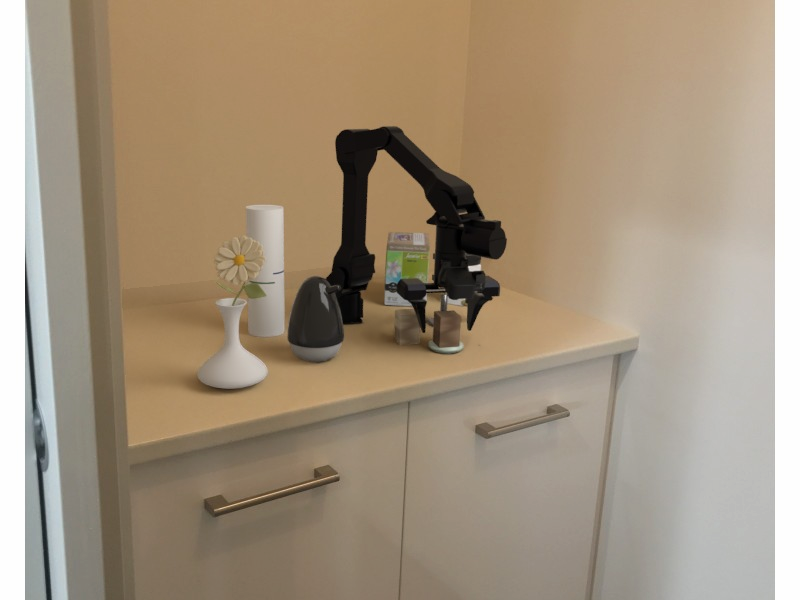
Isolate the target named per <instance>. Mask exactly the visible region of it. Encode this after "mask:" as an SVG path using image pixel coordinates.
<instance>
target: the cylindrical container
mask: <svg viewBox="0 0 800 600" xmlns="http://www.w3.org/2000/svg"><path fill="white" fill-rule="evenodd" d="M284 213H285V211H284V206H282V205H278V204H277V205H276V204H250V205H247V206H245V232H246V234H245V236H246V237H248V238H252V240H255V241H257V242H259V244H261V245H262V246H263V248H262V250H263V251H264V255H263V257H265V258H266V261H265V262H264V265H263V266H262V270H260V271H258V276H256V278H255V279H252V280H251V281H246V285H248V284H251V283H257V284H258V285H259V286H260V287H261V288H262V289H263V291H264V292H265V294H266V295H267V296H265V297H261V298H255V299H251V298H249V297H248V296H247V321H248V322H247V324H248V327H247V328H248V330H247V331H248V334H249V335H250V336H252V337H259V338H272V337H278V336H281V335H283V334H285V332H286V331H285V328H286V327H285V241H284V240H285V239H284V238H285V235H284V234H285V232H284V231H285V229H284V228H285V227H284V224H285V223H284V222H285V221H284V220H285V219H284V217H285V215H284Z"/></svg>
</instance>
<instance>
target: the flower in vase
mask: <svg viewBox="0 0 800 600" xmlns="http://www.w3.org/2000/svg"><path fill="white" fill-rule="evenodd" d="M262 248H263V246H262V245H261V244H259V242H257V241H255V240H252V238H248V237H246V235H243V234H242V235H241V236H238V237H236V236H233V237H231V239H229V240H225V241H224V242H223V243H222V245H221V247H218V248H217V254H216V255H214V260H213V263H214V265H216V266H215V270H216V271H218V272H216V275H217V277H219V278H220V279H222V280H224V282H229V283H230V284H231V285H233V286H237V285H242V286H241V288H240V290H239V291H238V293H236V292H235V291H234V290H233V289H232V288H231V287H228V286H227V285H224V284H223V283H220V282H219V281H217V279H216V278H215V282H216V284H217V285H218V286H220V287H221V288H223V289H225V290H227V291H229V292H230V293H232V294H234V295H236V296H235V297H226V298H220V299H217V300H216V301H215V302H214V304H215V306H217V308H218V310H219V311H220V314H221V316H222V320H223V326H224V327H223V328H224V341H223V345H222V346H221V348H220V349H219V350H217V352H216V353H214V354H212V355H211V356H210V357H209V358H207V359H206V360H205V361H204V362H203V364H201V366H199V369H198V371H197V378H198V380H199V381H200V382H201V383H202V384H204V385H207V386H210V387H213V388H219V389H225V390H229V389H242V388H247V387H251V386H253V385H256V384H258V383H260V382H262V381H264V379H265V378H267V375H268V373H269V370H268V368H267V366H266V365H267V364H265V363H264V362H263V361H262V360H261V359H260V358H259V357H257V356H256V355H254V354H253V353H252V352H251V351H248V350H247V349H246V348H244V346H243V345H242V343H241V341H240V333H239V332H240V318H241V314H242V312H243V309H244V308H245V306H246V305H247V304H248V300H246V299H244V298H239V296H241V293H242V292H243V291H244V293H245V295H246V296H247V298H248V297H249V298H251V299H255V298H261V297H265V296H267V295H266V294H265V292H264V291H263V289H262V288H261V287H260V286H259V285H258V284H257V283H251V284H248V285H247V281H251V280H252V279H255V278H256V276H258V271H260V270H262V266H263V265H264V262H265V261H266V258H265V257H263V255H264V251H263V250H262Z"/></svg>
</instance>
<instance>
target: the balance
mask: <svg viewBox="0 0 800 600" xmlns="http://www.w3.org/2000/svg"><path fill="white" fill-rule="evenodd" d="M426 295H427V296H428V293H426ZM447 299H448V295H447V292H445V293H440V310H439V311H448V304H447ZM461 305H463V306H462V307H467V306H468V299H465V300H463V301H461ZM426 323H427V324H429V325H430V326H431V327H432V328H433V323H434V317H426Z"/></svg>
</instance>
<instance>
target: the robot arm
mask: <svg viewBox="0 0 800 600" xmlns="http://www.w3.org/2000/svg"><path fill="white" fill-rule="evenodd" d="M334 145H335V146H334V147H335V155H336V157H335V158H336V161H337V162H336V163H338V164H337V165H338V166H339V168H340V169H341V172H342V175H343V177H342V178H343V182H342V210H341V213H342V214H341V243H340V246H339V247H338V249H337V251H336V253H335V255H334V257H333V260H332V265H331V272H330V273H329V274H328V275H327V277H325V279H326V280H327V281H328V282H329V283H330V285H331V286H334V285H340V286H341V290H340V291H337V292H335V295H336V298H337V300H338V304H339V307H340V311H341V315H342V321H343V325H347V324H348V325H349V324H362V323H364V322H363V317H364V299H363V297H362V292H361V291H366V290H367V289H368V287H369V283H370V281H372V279H373V275H374V274H375V273H376V268H375V261H376V255H375V254H374V253H370V251H369V250H368V248H367V245H366V241H367V240H366V238H367V237H366V236H367V213H368V189H369V174H370V173H371V171H372V169H373V168H374V165H375V164H376V161H377V157H378V152H379V151H385V152H386V153H387V154H388V155H389V156H390V157H391V158H392V159H393V160H394V161H395V162H396V163H397V164H398V165H399V166H400V167H401V168H402V169H403V170H404V171H406V173H408V175H410V176H411V177H412V178H413V180H415V181H416V182H417V183H418V184H419V186H420V187H421V188H422V189H423V192H424V197H425V199H426V200H427V202H428V204H429V205H430V206H431V208H433V210H434V213H433V214H432V216H431V217H429V218H428V219H427V220H426V221H425V222H426V225H431V226H435V245H434V247H435V249H434V253H432V259H433V261H434V265H433V266H434V267H433V274H432V275H431V280H432V281H433V282H428V283H423V282H422V281H421V280H419V279H418V278H409V279H400V280H399V282H398V283H397V293H398V294H399V295H400V296H401V297H402V298H403V299H404V300H407V301H408V302H409V303H411V304H412V306H411V307H412V309H414V311H415V314H416V316H417V319H418V322H419V325H420V332H421V334H422V333H423V334H426V329H427V328H426V327H427V316H426V306H427V303H428V301H426V300H425V299H424V297H425V296H426V293H427V294H441V293H445V292H447V295H448V297H449V298H450V299H452V300H458V299H468V306H467V308H466V309H467V310H466V329H467V330H468V331H472V329H473V327H474V324H475V322H476V321H477V318H478V315H479V313H480V312H481V309H483V307H484V305H485V304H486V303H488V302H489V301H490V302H491V301H493V300H494V297H499V296H500V294H501V284H500V283H499V282H498V280H496V279H495V278H493V277H492V276H490V275H487V274H486V273H485V271H484V270H481V271H469V268H468V259H467V258H466V253H467V254H469V255H474V256H479V257H481V258H486V259H489V260H490V259H491V260H495V261H496V260H499V259H501V257H502V256H503V255H504V253H505V251H506V248H507V244H508V242H507V241H508V239H507V236H506V231H505V230H504V229H503V228H502V221H501V220H498V219H497V220H496V219H494V220H490V219H486V217H485V215H484V213H483V211H482V209H481V208H480V205H479V203H478V201H477V199H476V197H475V194H474V193H475V191H474V188H473V187H472V186H471V184H469V183H468V182H466V181H465V180H463V179H462V178H460V177H458V175H455V174H452V173H450V172H447V171H445V170H443V169H442V168H440V167H439V165H437V164H436V163H435V162H434V161H433V160H432V159H431V158H430V157H429V156H428V155H427V154H426V153H425V152H424V151H422V150H421V149H420V147H418V146H417V144H415V142H413V141H412V140H411V139H410V138H409V137H408V136H407V135H406V134H405V133H404V131H403V130H402V129H401V128H400V127H398V126H395V125H389V126H387V125H386V126H380V127H377V128H374V129H373V128H372V129H370V128H349V129H348V128H347V129H343V130H341V131H340V132H339V133H338V134H337V135H336V137H335V141H334Z"/></svg>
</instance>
